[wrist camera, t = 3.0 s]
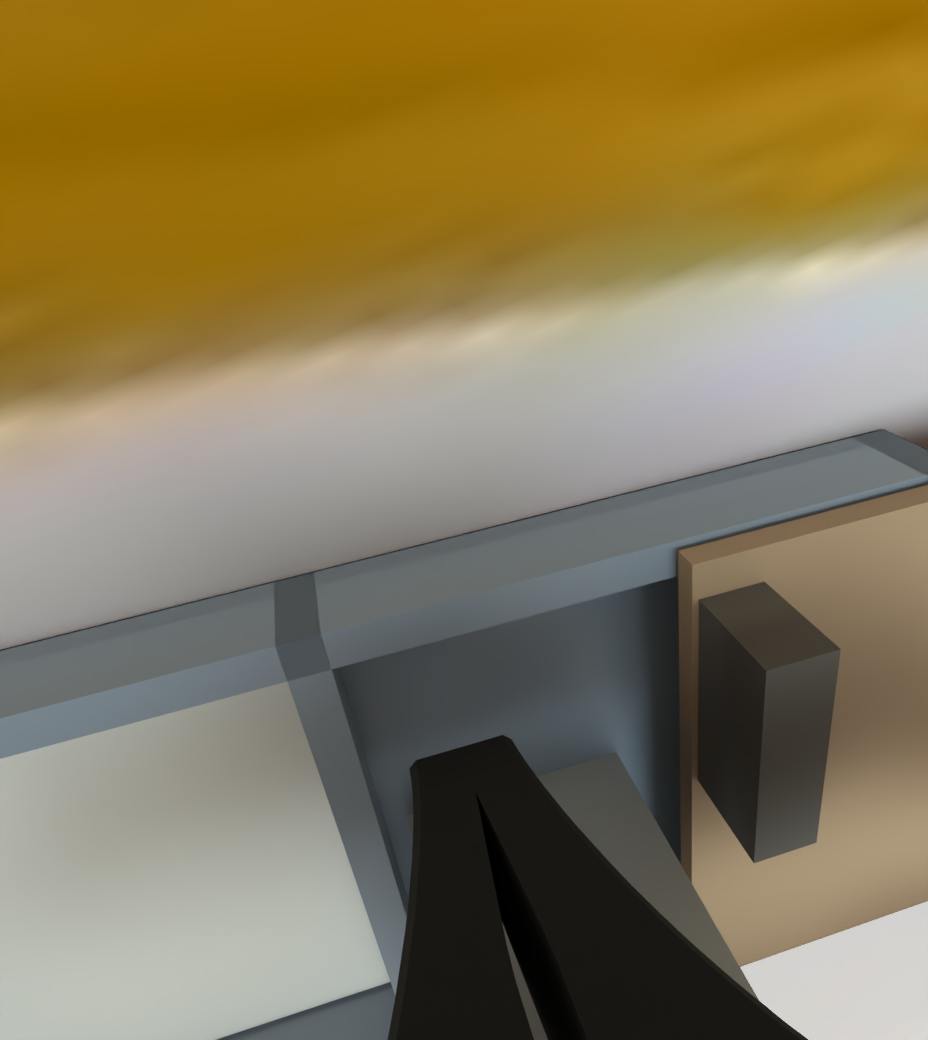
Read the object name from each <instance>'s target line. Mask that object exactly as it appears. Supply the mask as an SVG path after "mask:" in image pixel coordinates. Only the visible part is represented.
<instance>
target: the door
mask: <svg viewBox="0 0 928 1040" xmlns="http://www.w3.org/2000/svg"><path fill="white" fill-rule="evenodd" d="M678 594H679V708H680V822H681V866H682V867H683V869H684V871H685V873H686V874H687V876H688V878H689V880H690V881H691V883H692V885H693V887H694V888H695V890H696V892H697V894H698V895H699V897H700V899H701V901H702V902H703V904H704V906H705V908H706V909H707V911H708V913H709V915H710V916H711V918H712V920H713V922H714V923H715V925H716V927H717V928H718V930H719V932H720V934H721V935H722V937H723V939H724V941H725V942H726V944H727V946H728V948H729V949H730V951H731V953H732V955H733V956H734V958H735V960H736V962H737V963H738V965H739V967H741V966H744V965H747V964H749V963H752V962H755V961H758V960H761V959H764V958H767V957H769V956H772V955H775V954H778V953H781V952H784V951H786V950H789V949H792V948H795V947H798V946H801V945H804V944H806V943H809V942H812V941H815V940H818V939H821V938H823V937H826V936H829V935H832V934H835V933H838V932H841V931H843V930H846V929H849V928H852V927H855V926H858V925H861V924H863V923H866V922H869V921H872V920H875V919H878V918H880V917H883V916H886V915H889V914H892V913H895V912H898V911H900V910H903V909H906V908H909V907H912V906H915V905H917V904H920V903H923V902H926V901H928V485H925V486H921V487H918V488H914V489H910V490H906V491H902V492H899V493H895V494H891V495H887V496H884V497H880V498H876V499H872V500H868V501H865V502H861V503H857V504H853V505H850V506H846V507H842V508H838V509H834V510H831V511H827V512H823V513H819V514H816V515H812V516H808V517H804V518H800V519H797V520H793V521H789V522H785V523H782V524H778V525H774V526H770V527H766V528H763V529H759V530H755V531H751V532H748V533H744V534H740V535H736V536H732V537H729V538H725V539H721V540H717V541H714V542H710V543H706V544H702V545H698V546H695V547H691V548H687V549H683V550H680V551H678Z"/></svg>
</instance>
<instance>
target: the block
mask: <svg viewBox="0 0 928 1040" xmlns="http://www.w3.org/2000/svg"><path fill="white" fill-rule="evenodd" d="M537 777H538V779H539V780H540V781H541V783H542V784H543V785H544V787H545V788H546V789H547V790H548V792H549V793H550V794H551V795H552V797H553V798H554V799H555V800H556V802H557V803H558V804H559V805H560V807H561V808H562V809H563V810H564V811H565V813H566V814H567V815H568V816H569V817H570V818H571V820H572V821H573V822H574V823H575V824H576V825H577V827H578V828H579V829H580V830H581V831H582V832H583V833H584V834H585V835H586V837H587V838H588V839H589V840H590V841H591V842H592V843H593V844H594V845H595V847H596V848H597V849H598V850H599V851H600V852H601V853H602V854H603V855H604V856H605V858H606V859H607V860H608V861H609V862H610V863H611V864H612V865H613V866H614V867H615V868H616V869H617V870H618V871H619V872H620V874H621V875H622V876H623V877H624V878H625V879H626V880H627V881H628V882H629V883H630V884H631V885H632V886H633V887H634V888H635V889H636V890H637V891H638V892H639V893H640V894H641V895H642V896H643V897H644V898H645V899H646V900H647V901H648V902H649V903H650V904H651V905H652V906H653V907H654V908H655V909H656V910H657V911H658V912H659V913H660V914H661V915H662V916H664V917H665V918H666V919H667V920H668V921H669V922H670V923H671V924H672V925H673V926H674V927H675V928H676V929H677V930H678V931H679V932H680V933H682V934H683V935H684V936H685V937H686V938H687V939H688V940H689V941H690V942H691V943H692V944H694V945H695V946H696V947H697V948H698V949H699V950H700V951H701V952H702V953H704V954H705V955H706V956H707V957H708V958H709V959H710V960H712V961H713V962H714V963H715V964H716V965H717V966H718V967H720V968H721V969H722V970H723V971H724V972H725V973H726V974H728V975H729V976H730V977H731V978H732V979H733V980H734V981H736V982H737V983H738V984H739V985H740V986H742V987H743V988H744V989H745V990H747V991H748V992H749V993H750V994H751V995H753V996H754V997H755V998H756V999H757V1000H758V998H757V997H756V995H755V993H754V991H753V990H752V988H751V986H750V984H749V983H748V981H747V979H746V977H745V976H744V974H743V972H742V970H741V969H740V967H739V965H738V963H737V962H736V960H735V958H734V956H733V955H732V953H731V951H730V949H729V948H728V946H727V944H726V942H725V941H724V939H723V937H722V935H721V934H720V932H719V930H718V928H717V927H716V925H715V923H714V922H713V920H712V918H711V916H710V915H709V913H708V911H707V909H706V908H705V906H704V904H703V902H702V901H701V899H700V897H699V895H698V894H697V892H696V890H695V888H694V887H693V885H692V883H691V881H690V880H689V878H688V876H687V874H686V873H685V871H684V869H683V867H682V866H681V864H680V862H679V860H678V859H677V857H676V855H675V854H674V852H673V850H672V848H671V847H670V845H669V843H668V841H667V840H666V838H665V836H664V834H663V833H662V831H661V829H660V827H659V826H658V824H657V822H656V820H655V819H654V817H653V815H652V813H651V812H650V810H649V808H648V806H647V805H646V803H645V801H644V799H643V798H642V796H641V794H640V792H639V791H638V789H637V787H636V785H635V784H634V782H633V780H632V779H631V777H630V775H629V773H628V772H627V770H626V768H625V766H624V765H623V763H622V761H621V759H620V758H619V756H618V754H617V752H616V753H613V754H610V755H607V756H603V757H600V758H597V759H593V760H590V761H587V762H583V763H580V764H577V765H573V766H570V767H567V768H563V769H560V770H557V771H553V772H550V773H547V774H543V775H540V776H537ZM407 818H408V822H409V827H410V832H411V837H412V841H413V814H410V815H407ZM502 924H503V923H502ZM503 929H504V934H505V939H506V944H507V948H508V952H509V956H510V960H511V964H512V968H513V972H514V976H515V980H516V983H517V987H518V990H519V993H520V996H521V999H522V1003H523V1006H524V1009H525V1012H526V1016H527V1019H528V1022H529V1025H530V1028H531V1032H532V1035H533V1038H534V1040H548V1039H547V1036H546V1034H545V1031H544V1028H543V1026H542V1023H541V1021H540V1018H539V1016H538V1013H537V1011H536V1008H535V1005H534V1003H533V1000H532V998H531V995H530V993H529V990H528V987H527V985H526V982H525V980H524V977H523V975H522V972H521V969H520V967H519V964H518V962H517V959H516V957H515V954H514V951H513V949H512V946H511V944H510V941H509V938H508V936H507V933H506V931H505V928H504V925H503Z"/></svg>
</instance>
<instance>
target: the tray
mask: <svg viewBox="0 0 928 1040" xmlns="http://www.w3.org/2000/svg"><path fill="white" fill-rule="evenodd" d="M925 485H928V450H926V449H924V448H922V447H920V446H918V445H916V444H914V443H911V442H909V441H907V440H905V439H903V438H901V437H899V436H897V435H894V434H892V433H890V432H888V431H886V430H884V429H883V430H879V431H875V432H871V433H868V434H864V435H860V436H856V437H852V438H848V439H844V440H840V441H836V442H832V443H828V444H824V445H820V446H816V447H812V448H808V449H804V450H800V451H796V452H792V453H788V454H784V455H780V456H776V457H772V458H768V459H764V460H760V461H756V462H752V463H748V464H744V465H740V466H736V467H732V468H728V469H724V470H720V471H716V472H712V473H708V474H704V475H700V476H696V477H692V478H688V479H684V480H680V481H676V482H672V483H668V484H664V485H660V486H656V487H652V488H648V489H644V490H640V491H636V492H632V493H628V494H624V495H620V496H616V497H612V498H608V499H604V500H600V501H596V502H592V503H588V504H584V505H580V506H576V507H572V508H569V509H565V510H561V511H557V512H553V513H549V514H545V515H541V516H537V517H533V518H529V519H525V520H521V521H517V522H513V523H509V524H505V525H501V526H497V527H493V528H489V529H485V530H481V531H477V532H473V533H469V534H465V535H461V536H457V537H453V538H449V539H445V540H441V541H437V542H433V543H429V544H425V545H421V546H417V547H413V548H409V549H405V550H401V551H397V552H393V553H389V554H385V555H381V556H377V557H373V558H369V559H365V560H361V561H357V562H353V563H349V564H345V565H341V566H337V567H333V568H329V569H325V570H321V571H317V572H313V573H309V574H305V575H301V576H297V577H293V578H289V579H285V580H281V581H277V582H273V583H270V584H266V585H262V586H258V587H254V588H250V589H246V590H242V591H238V592H234V593H230V594H226V595H222V596H218V597H214V598H210V599H206V600H202V601H198V602H194V603H190V604H186V605H182V606H178V607H174V608H170V609H166V610H162V611H158V612H154V613H150V614H146V615H142V616H138V617H134V618H130V619H126V620H122V621H118V622H114V623H110V624H106V625H102V626H98V627H94V628H90V629H86V630H82V631H78V632H74V633H70V634H66V635H62V636H58V637H54V638H50V639H46V640H42V641H38V642H34V643H30V644H26V645H22V646H18V647H14V648H10V649H6V650H2V651H0V1040H388V1035H389V1029H390V1024H391V1018H392V1013H393V1007H394V1002H395V996H396V989H397V982H398V976H399V969H400V962H401V955H402V948H403V942H404V935H405V928H406V919H407V910H408V899H409V887H410V876H411V864H412V847H413V841H412V837H411V832H410V827H409V822H408V818H407V815H410V814H413V795H412V783H411V776H410V770H409V768H410V767H411V766H412V765H413V763H414V762H415V761H416V760H418V759H422V758H425V757H429V756H432V755H435V754H439V753H442V752H446V751H449V750H453V749H456V748H459V747H463V746H466V745H470V744H473V743H477V742H480V741H484V740H487V739H490V738H494V737H497V736H501V735H504V736H506V737H508V738H510V739H512V741H513V742H514V744H515V746H516V747H517V749H518V750H519V752H520V753H521V755H522V756H523V758H524V759H525V761H526V762H527V764H528V765H529V767H530V768H531V769H532V771H533V772H534V773H535V775H536V776H540V775H543V774H547V773H550V772H553V771H557V770H560V769H563V768H567V767H570V766H573V765H577V764H580V763H583V762H587V761H590V760H593V759H597V758H600V757H603V756H607V755H610V754H613V753H616V752H617V754H618V756H619V758H620V759H621V761H622V763H623V765H624V766H625V768H626V770H627V772H628V773H629V775H630V777H631V779H632V780H633V782H634V784H635V785H636V787H637V789H638V791H639V792H640V794H641V796H642V798H643V799H644V801H645V803H646V805H647V806H648V808H649V810H650V812H651V813H652V815H653V817H654V819H655V820H656V822H657V824H658V826H659V827H660V829H661V831H662V833H663V834H664V836H665V838H666V840H667V841H668V843H669V845H670V847H671V848H672V850H673V852H674V854H675V855H676V857H677V859H678V860H679V862H680V864H681V822H680V708H679V594H678V551H680V550H683V549H687V548H691V547H695V546H698V545H702V544H706V543H710V542H714V541H717V540H721V539H725V538H729V537H732V536H736V535H740V534H744V533H748V532H751V531H755V530H759V529H763V528H766V527H770V526H774V525H778V524H782V523H785V522H789V521H793V520H797V519H800V518H804V517H808V516H812V515H816V514H819V513H823V512H827V511H831V510H834V509H838V508H842V507H846V506H850V505H853V504H857V503H861V502H865V501H868V500H872V499H876V498H880V497H884V496H887V495H891V494H895V493H899V492H902V491H906V490H910V489H914V488H918V487H921V486H925Z"/></svg>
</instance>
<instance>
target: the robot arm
mask: <svg viewBox="0 0 928 1040" xmlns="http://www.w3.org/2000/svg"><path fill="white" fill-rule="evenodd" d="M409 770H410V776H411V783H412V795H413V847H412V864H411V876H410V887H409V899H408V910H407V919H406V928H405V935H404V942H403V948H402V955H401V962H400V969H399V976H398V982H397V989H396V996H395V1002H394V1007H393V1013H392V1018H391V1024H390V1029H389V1035H388V1040H534V1038H533V1035H532V1032H531V1028H530V1025H529V1022H528V1019H527V1016H526V1012H525V1009H524V1006H523V1003H522V999H521V996H520V993H519V990H518V987H517V983H516V980H515V976H514V972H513V968H512V964H511V960H510V956H509V952H508V948H507V944H506V939H505V934H504V929H503V925H504V928H505V931H506V933H507V936H508V938H509V941H510V944H511V946H512V949H513V951H514V954H515V957H516V959H517V962H518V964H519V967H520V969H521V972H522V975H523V977H524V980H525V982H526V985H527V987H528V990H529V993H530V995H531V998H532V1000H533V1003H534V1005H535V1008H536V1011H537V1013H538V1016H539V1018H540V1021H541V1023H542V1026H543V1028H544V1031H545V1034H546V1036H547V1039H548V1040H808V1039H807V1038H805V1037H804V1036H803V1035H801V1034H800V1033H799V1032H797V1031H796V1030H795V1029H793V1028H792V1027H791V1026H789V1025H788V1024H787V1023H785V1022H784V1021H783V1020H782V1019H780V1018H779V1017H778V1016H777V1015H776V1014H774V1013H773V1012H772V1011H771V1010H770V1009H768V1008H767V1007H766V1006H765V1005H763V1004H762V1003H761V1002H760V1001H759V1000H757V999H756V998H755V997H754V996H753V995H751V994H750V993H749V992H748V991H747V990H745V989H744V988H743V987H742V986H740V985H739V984H738V983H737V982H736V981H734V980H733V979H732V978H731V977H730V976H729V975H728V974H726V973H725V972H724V971H723V970H722V969H721V968H720V967H718V966H717V965H716V964H715V963H714V962H713V961H712V960H710V959H709V958H708V957H707V956H706V955H705V954H704V953H702V952H701V951H700V950H699V949H698V948H697V947H696V946H695V945H694V944H692V943H691V942H690V941H689V940H688V939H687V938H686V937H685V936H684V935H683V934H682V933H680V932H679V931H678V930H677V929H676V928H675V927H674V926H673V925H672V924H671V923H670V922H669V921H668V920H667V919H666V918H665V917H664V916H662V915H661V914H660V913H659V912H658V911H657V910H656V909H655V908H654V907H653V906H652V905H651V904H650V903H649V902H648V901H647V900H646V899H645V898H644V897H643V896H642V895H641V894H640V893H639V892H638V891H637V890H636V889H635V888H634V887H633V886H632V885H631V884H630V883H629V882H628V881H627V880H626V879H625V878H624V877H623V876H622V875H621V874H620V872H619V871H618V870H617V869H616V868H615V867H614V866H613V865H612V864H611V863H610V862H609V861H608V860H607V859H606V858H605V856H604V855H603V854H602V853H601V852H600V851H599V850H598V849H597V848H596V847H595V845H594V844H593V843H592V842H591V841H590V840H589V839H588V838H587V837H586V835H585V834H584V833H583V832H582V831H581V830H580V829H579V828H578V827H577V825H576V824H575V823H574V822H573V821H572V820H571V818H570V817H569V816H568V815H567V814H566V813H565V811H564V810H563V809H562V808H561V807H560V805H559V804H558V803H557V802H556V800H555V799H554V798H553V797H552V795H551V794H550V793H549V792H548V790H547V789H546V788H545V787H544V785H543V784H542V783H541V781H540V780H539V779H538V777H537V776H536V775H535V773H534V772H533V771H532V769H531V768H530V767H529V765H528V764H527V762H526V761H525V759H524V758H523V756H522V755H521V753H520V752H519V750H518V749H517V747H516V746H515V744H514V742H513V741H512V739H510V738H508V737H506V736H504V735H501V736H497V737H494V738H490V739H487V740H484V741H480V742H477V743H473V744H470V745H466V746H463V747H459V748H456V749H453V750H449V751H446V752H442V753H439V754H435V755H432V756H429V757H425V758H422V759H418V760H416V761H415V762H414V763H413V765H412V766H411V767H410V768H409ZM502 923H503V924H502Z"/></svg>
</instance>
